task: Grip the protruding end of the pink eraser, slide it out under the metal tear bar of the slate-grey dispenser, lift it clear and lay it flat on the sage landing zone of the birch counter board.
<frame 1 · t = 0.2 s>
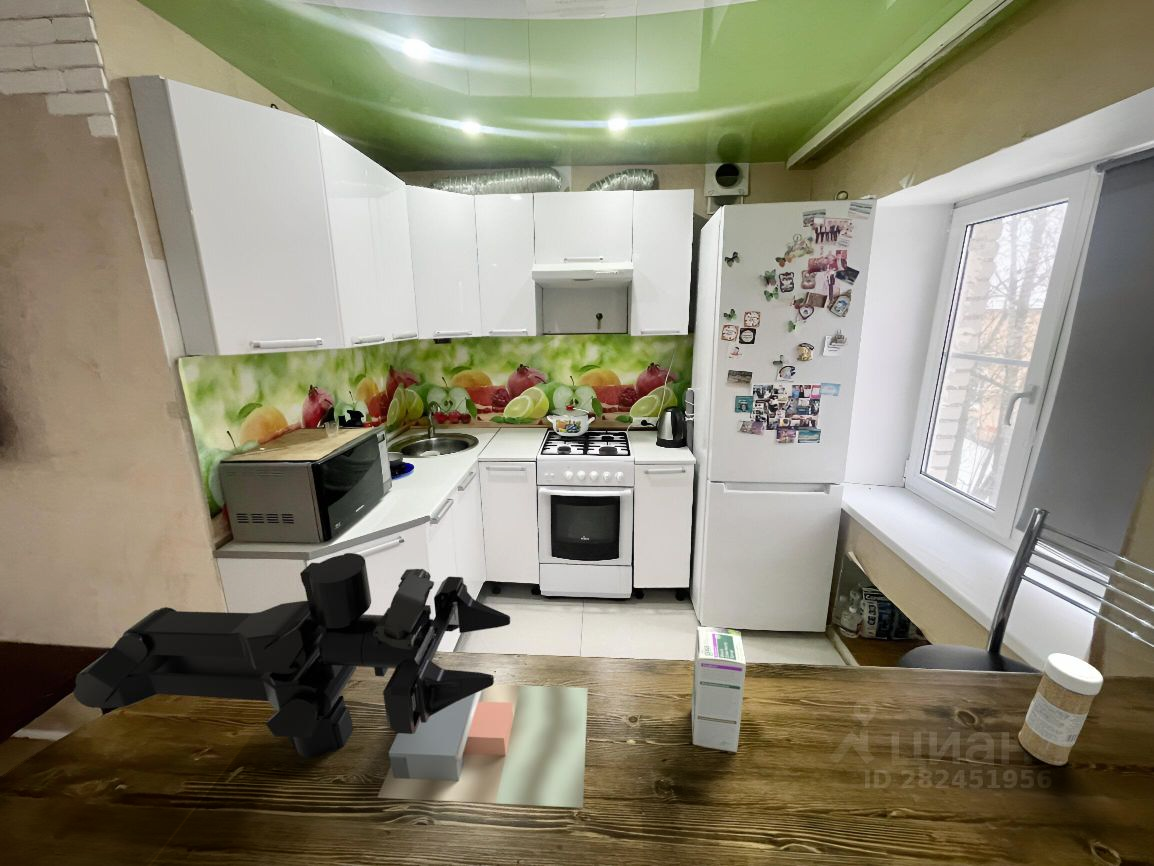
hand: (502, 647, 53), 17 cm above the table, tool horizontal, fingers open, 9 cm apart
counter board: (495, 741, 60), on the table
sprinkles bottle: (1040, 750, 58), on the table
syrup box: (712, 730, 61), on the table
dispenser: (442, 734, 60), resting on counter board
pink eraser: (472, 735, 60), point 1 cm above the table, touching counter board
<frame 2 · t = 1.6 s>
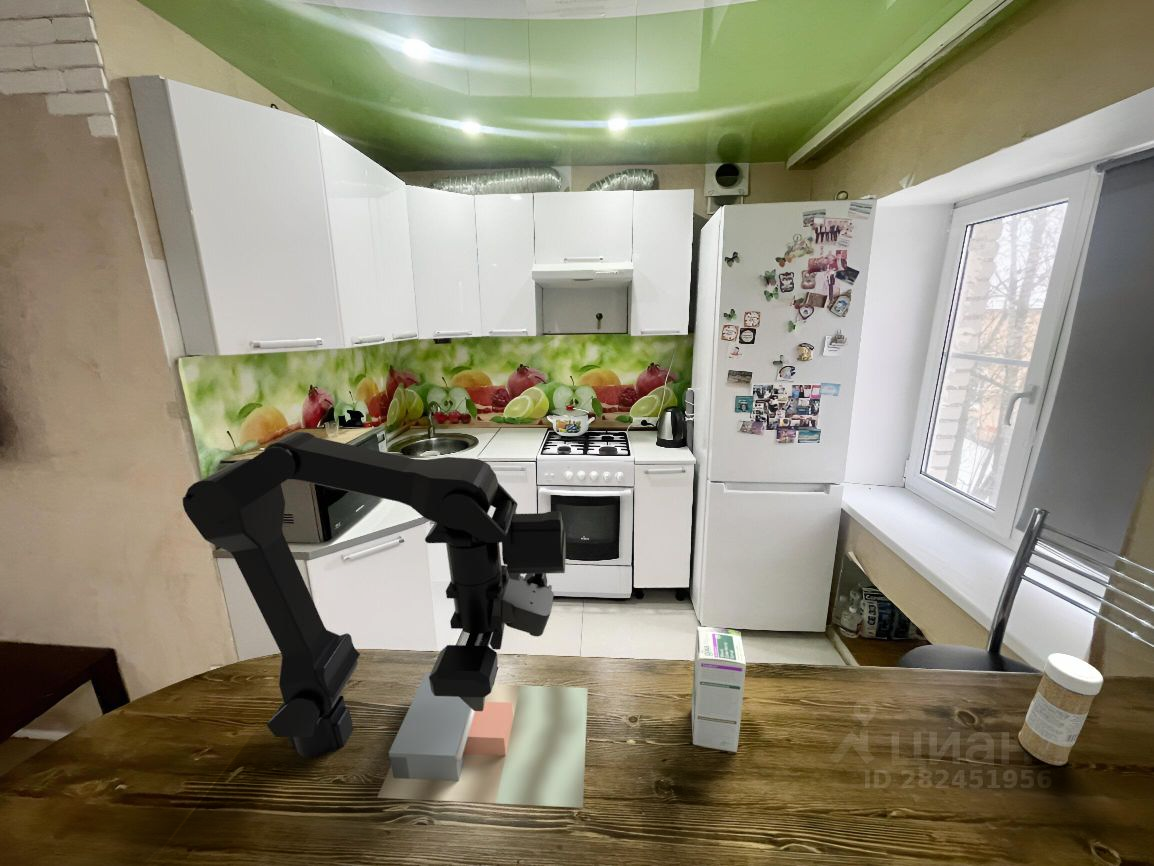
hand: (488, 676, 56), 11 cm above the table, tool pointing down, fingers open, 9 cm apart
nothing on the table moved.
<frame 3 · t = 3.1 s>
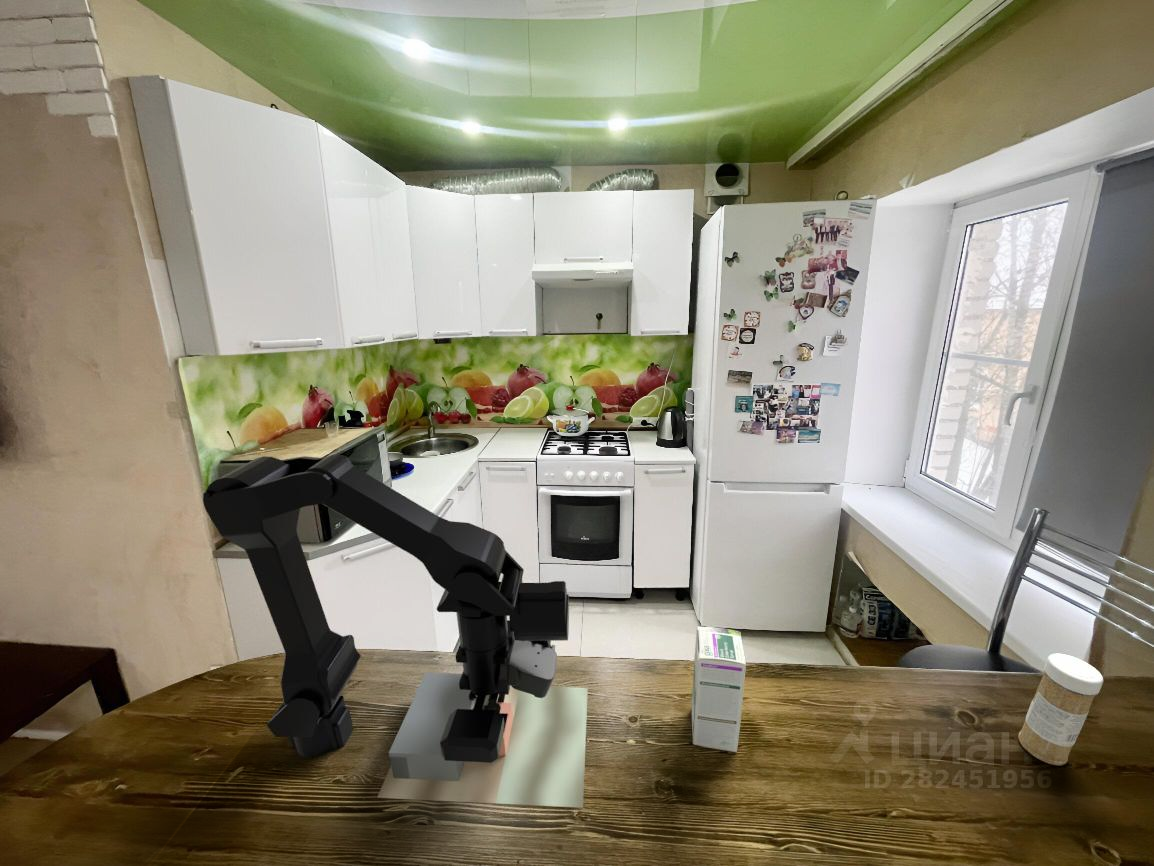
hand: (493, 730, 59), 2 cm above the table, tool pointing down, fingers closed on pink eraser, 5 cm apart
pink eraser: (472, 735, 60), point 1 cm above the table, touching counter board, gripper
everything else where it was.
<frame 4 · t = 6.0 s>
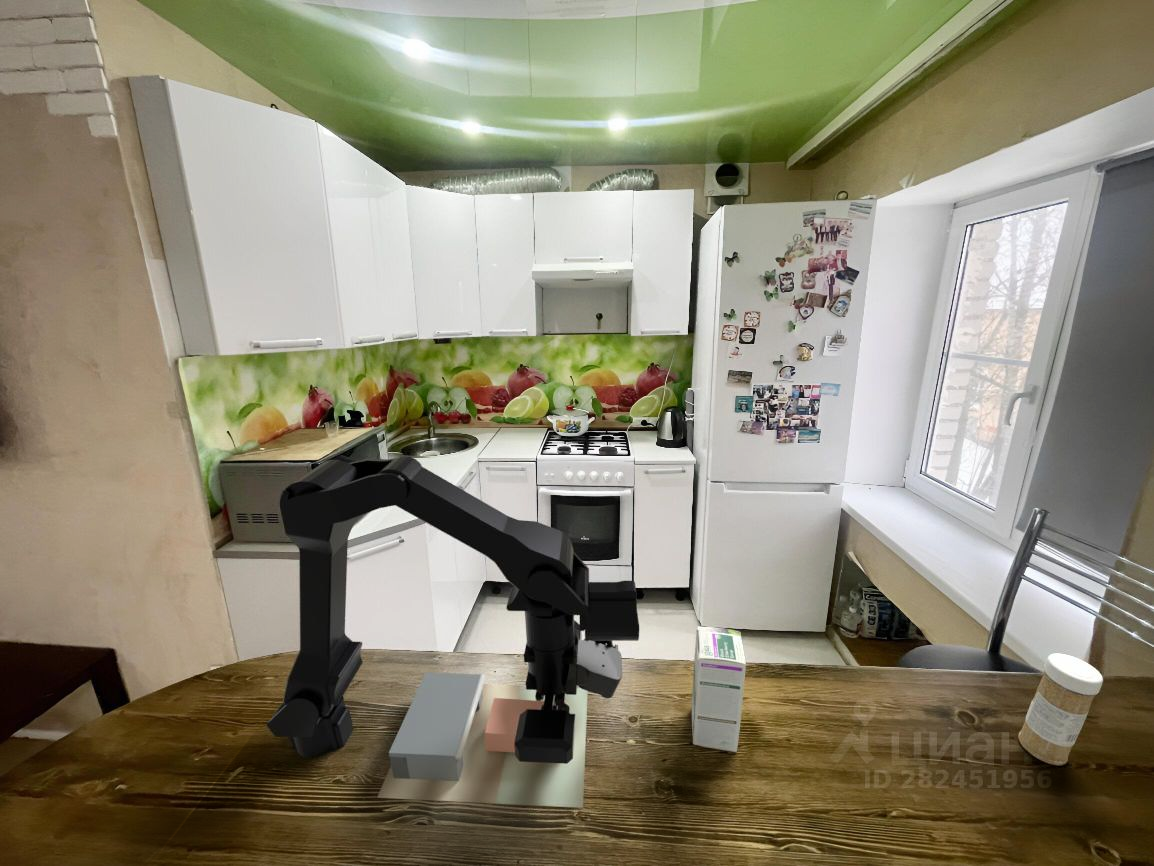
hand: (554, 731, 59), 2 cm above the table, tool pointing down, fingers closed on pink eraser, 5 cm apart
pink eraser: (528, 734, 59), point 2 cm above the table, touching gripper
everything else where it was.
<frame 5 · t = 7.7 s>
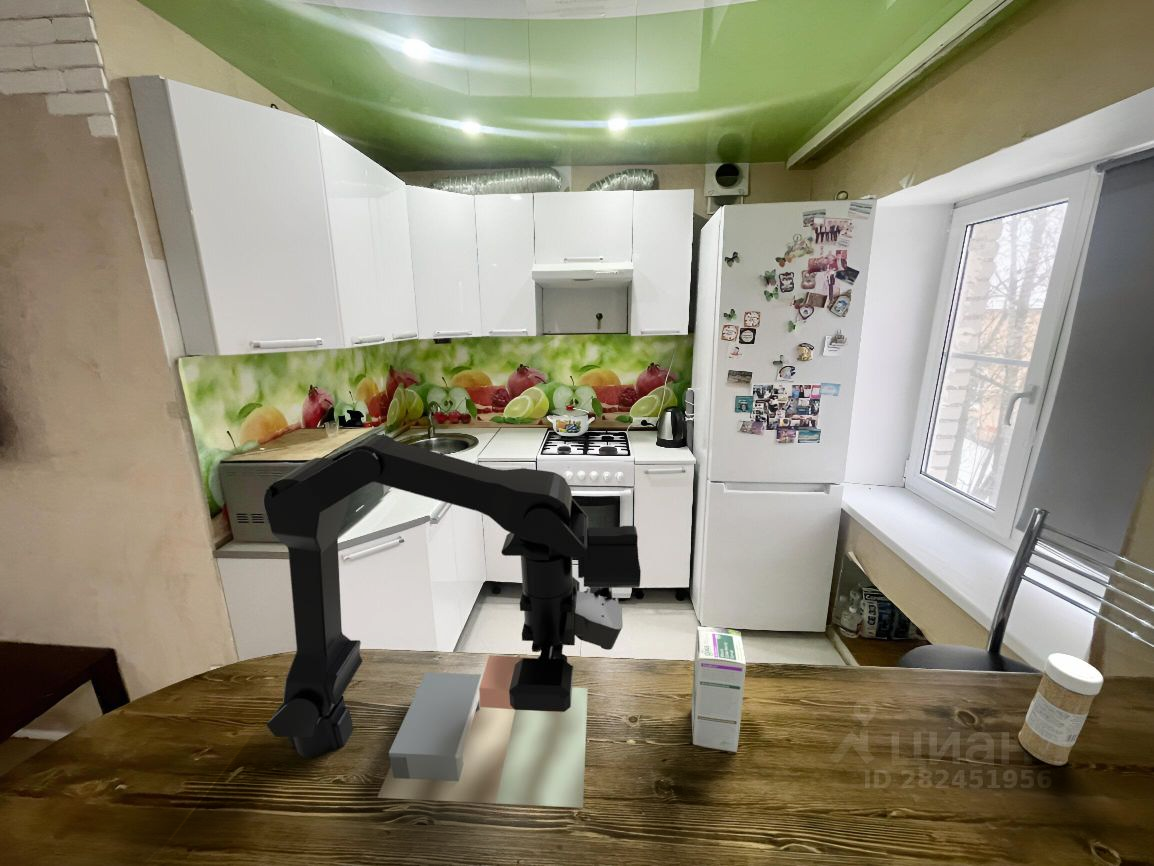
hand: (552, 688, 56), 10 cm above the table, tool pointing down, fingers closed on pink eraser, 5 cm apart
pink eraser: (524, 692, 57), point 9 cm above the table, touching gripper
everything else where it was.
when the fingers open (4 cm above the table, at t = 9.1 s): pink eraser drops 2 cm, resting on counter board.
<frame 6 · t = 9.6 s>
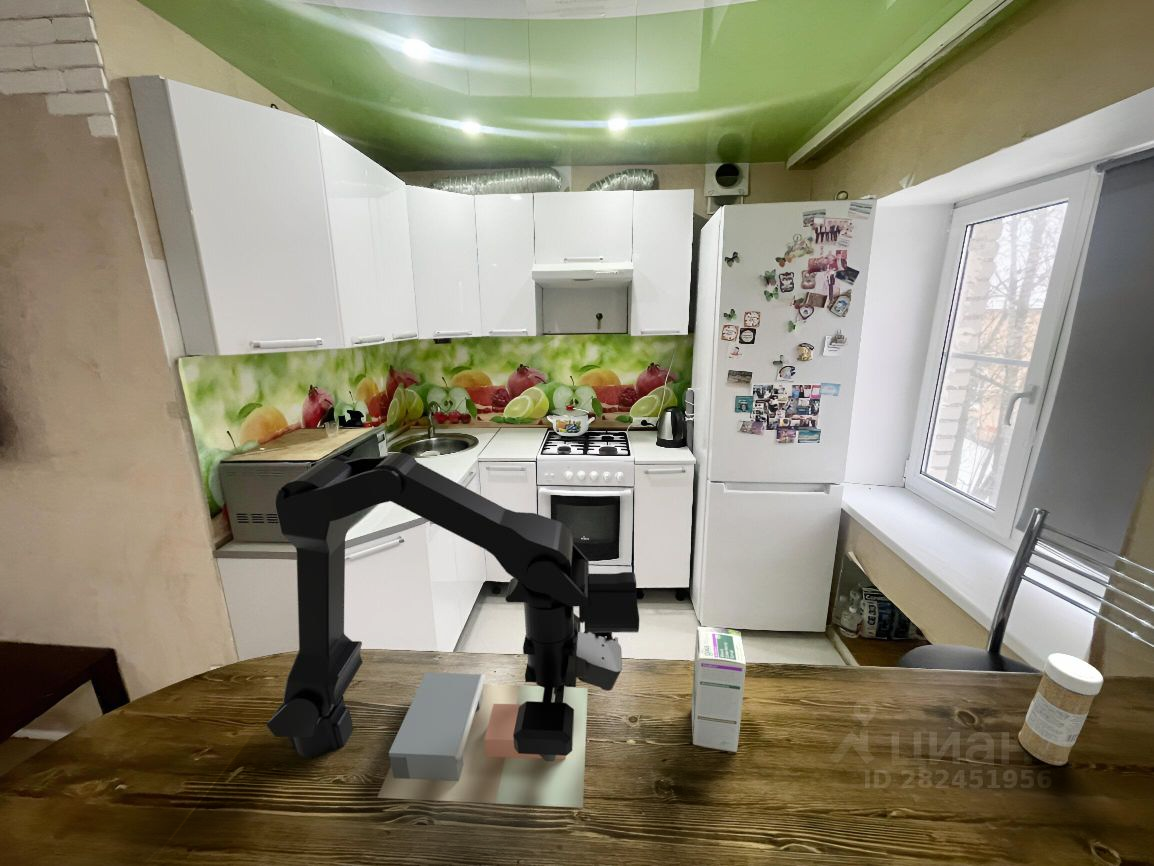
hand: (554, 724, 58), 4 cm above the table, tool pointing down, fingers open, 9 cm apart
pink eraser: (528, 738, 59), point 1 cm above the table, touching counter board
everything else where it was.
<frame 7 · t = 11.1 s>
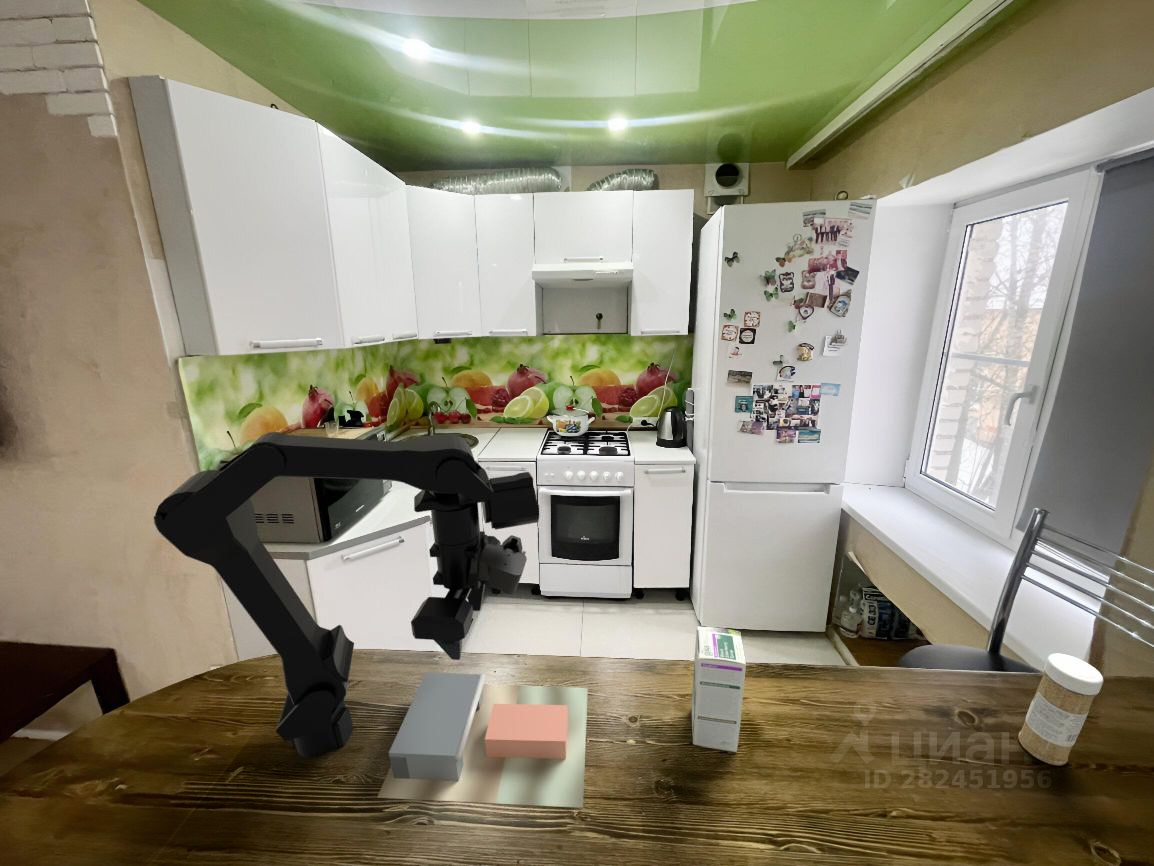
hand: (467, 632, 63), 12 cm above the table, tool pointing down, fingers open, 9 cm apart
nothing on the table moved.
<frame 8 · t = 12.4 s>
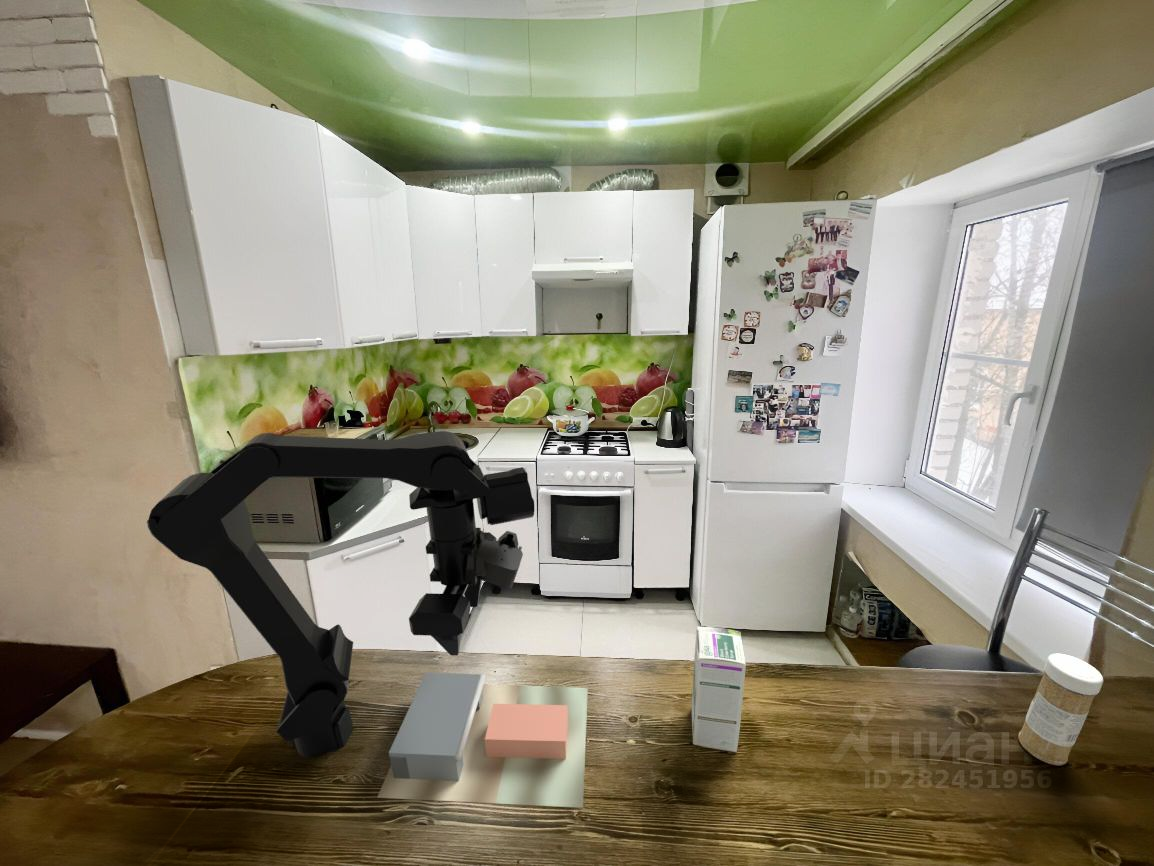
hand: (464, 628, 63), 12 cm above the table, tool pointing down, fingers open, 9 cm apart
nothing on the table moved.
at the end: pink eraser inside the target area (2.7 cm from its centre), point 1.0 cm above the table; the gripper is holding nothing; pink eraser tilted 0° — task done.
